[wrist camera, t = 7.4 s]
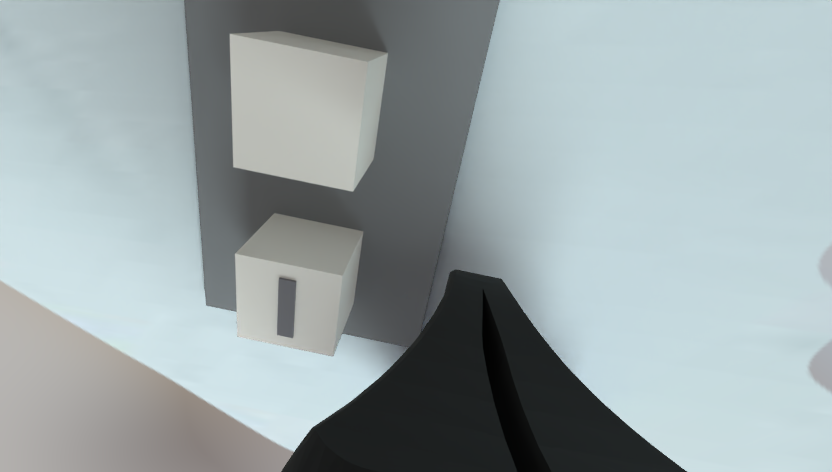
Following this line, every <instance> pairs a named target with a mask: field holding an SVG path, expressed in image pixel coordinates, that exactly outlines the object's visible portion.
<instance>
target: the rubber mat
mask: <svg viewBox="0 0 832 472" xmlns="http://www.w3.org/2000/svg"><path fill="white" fill-rule="evenodd" d="M184 2H185V16H186V30H187V44H188V58H189V72H190V86H191V100H192V114H193V128H194V142H195V156H196V170H197V184H198V198H199V212H200V226H201V240H202V254H203V269H204V283H205V297H206V305H207V306H212V307H216V308H221V309H226V310H231V311H236V312H237V305H236V270H235V253H236V252H237V251H238V250H239V249H240V248H241V247H242V246H243V245H244V244H245V243H246V242H247V241H248V240H249V239H250V238H251V237H252V236H253V235H254V234H255V233H256V232H257V231H258V230H259V228H260V227H261V226H262V225H263V224H264V223H265V222H266V221H267V220H268V219H269V218H270V217H271V216H272V215H273V214H274V213H277V214H281V215H286V216H291V217H296V218H301V219H306V220H311V221H316V222H320V223H325V224H330V225H335V226H340V227H345V228H350V229H355V230H359V231H363V237H362V245H361V252H360V260H359V267H358V275H357V282H356V289H355V297H354V304H353V306H352V309H351V311H350V314H349V317H348V319H347V322H346V325H345V327H344V330H343V332H342V334H347V335H352V336H357V337H362V338H367V339H371V340H376V341H381V342H386V343H391V344H396V345H401V346H405V347H410V346H411V345H412V344H413V342H414V341H415V340H416V339H417V337H418V336H419V335H420V332H421V328H422V324H423V320H424V316H425V311H426V307H427V303H428V299H429V295H430V290H431V286H432V282H433V278H434V274H435V269H436V265H437V261H438V257H439V253H440V248H441V244H442V240H443V236H444V232H445V227H446V223H447V219H448V215H449V210H450V206H451V202H452V198H453V194H454V189H455V185H456V181H457V177H458V173H459V168H460V164H461V160H462V156H463V152H464V147H465V143H466V139H467V135H468V131H469V126H470V122H471V118H472V114H473V110H474V105H475V101H476V97H477V93H478V89H479V84H480V80H481V76H482V72H483V68H484V63H485V59H486V55H487V51H488V47H489V42H490V38H491V34H492V30H493V26H494V21H495V17H496V13H497V9H498V5H499V0H184ZM268 31H282V32H287V33H292V34H297V35H302V36H307V37H312V38H317V39H322V40H327V41H332V42H337V43H342V44H346V45H351V46H356V47H361V48H366V49H371V50H376V51H381V52H386V53H388V57H387V65H386V72H385V80H384V87H383V94H382V102H381V109H380V116H379V124H378V131H377V139H376V146H375V153H374V159H373V161H372V163H371V164H370V166H369V167H368V169H367V170H366V172H365V174H364V175H363V177H362V178H361V180H360V181H359V183H358V185H357V186H356V188H355V189H354V191H353V192H352V191H347V190H342V189H337V188H332V187H328V186H323V185H318V184H313V183H308V182H303V181H298V180H293V179H289V178H284V177H279V176H274V175H269V174H264V173H259V172H254V171H249V170H245V169H240V168H235V167H233V138H232V102H231V66H230V34H234V33H251V32H268Z"/></svg>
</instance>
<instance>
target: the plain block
mask: <svg viewBox="0 0 832 472" xmlns="http://www.w3.org/2000/svg"><path fill="white" fill-rule="evenodd" d="M387 57H388V53H386V52H381V51H376V50H371V49H366V48H361V47H356V46H351V45H346V44H342V43H337V42H332V41H327V40H322V39H317V38H312V37H307V36H302V35H297V34H292V33H287V32H282V31H268V32H251V33H234V34H230V66H231V102H232V138H233V167H235V168H240V169H245V170H249V171H254V172H259V173H264V174H269V175H274V176H279V177H284V178H289V179H293V180H298V181H303V182H308V183H313V184H318V185H323V186H328V187H332V188H337V189H342V190H347V191H352V192H353V191H354V189H355V188H356V186H357V185H358V183H359V181H360V180H361V178H362V177H363V175H364V174H365V172H366V170H367V169H368V167H369V166H370V164H371V163H372V161H373V159H374V153H375V146H376V139H377V131H378V124H379V116H380V109H381V102H382V94H383V87H384V80H385V72H386V65H387Z"/></svg>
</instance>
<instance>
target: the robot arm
mask: <svg viewBox="0 0 832 472" xmlns="http://www.w3.org/2000/svg"><path fill="white" fill-rule="evenodd" d="M282 472H687V471H685V470H684V469H682V468H681V467H680V466H679V465H677V464H676V463H675V462H673V461H672V460H671V459H669V458H668V457H667V456H665V455H664V454H663V453H662V452H660V451H659V450H658V449H656V448H655V447H654V446H652V445H651V444H650V443H649V442H647V441H646V440H645V439H644V438H643V437H641V436H640V435H639V434H638V433H636V432H635V431H634V430H633V429H632V428H630V427H629V426H628V425H627V424H626V423H625V422H624V421H622V420H621V419H620V418H619V417H618V416H617V415H616V414H615V413H613V412H612V411H611V410H610V409H609V408H608V407H607V406H605V405H604V404H603V403H602V402H601V401H600V400H599V399H598V398H597V397H596V396H595V395H594V394H593V393H592V392H591V391H590V390H589V389H588V388H587V387H586V386H585V385H584V384H583V383H582V382H581V381H580V380H579V379H578V378H577V377H576V376H575V375H574V374H573V373H572V372H571V371H570V369H569V368H568V367H567V366H566V365H565V364H564V363H563V362H562V361H561V359H560V358H559V357H558V356H557V355H556V353H555V352H554V351H553V350H552V349H551V347H550V346H549V345H548V344H547V342H546V341H545V340H544V339H543V337H542V336H541V335H540V333H539V332H538V331H537V330H536V328H535V327H534V326H533V324H532V323H531V321H530V320H529V319H528V317H527V316H526V314H525V313H524V312H523V310H522V309H521V307H520V306H519V304H518V303H517V301H516V300H515V298H514V297H513V295H512V294H511V292H510V291H509V289H508V288H507V286H506V285H505V283H504V282H503V280H502V279H499V278H494V277H489V276H484V275H479V274H475V273H470V272H465V271H460V270H454V271H452V272H450V274H449V278H448V282H447V286H446V290H445V294H444V297H443V299H442V300H441V302H440V304H439V306H438V308H437V310H436V311H435V313H434V315H433V316H432V318H431V319H430V321H429V322H428V323H427V325H426V326H425V328H424V329H423V331H422V332H421V333H420V335H419V336H418V337H417V339H416V340H415V341H414V342H413V344H412V345H411V346H410V347H409V348H408V349H407V351H406V352H405V353H404V354H403V355H402V356H401V357H400V358H399V359H398V360H397V361H396V362H395V363H394V364H393V365H392V366H391V367H390V368H389V369H388V370H387V371H386V372H385V373H384V374H383V375H382V376H381V377H380V378H379V379H378V380H376V381H375V382H374V383H373V384H372V385H370V386H369V387H368V388H367V389H366V390H364V391H363V392H362V393H361V394H359V395H358V396H357V397H356V398H355V399H353V400H352V401H351V402H349V403H348V404H347V405H345V406H344V407H342V408H341V409H339V410H338V411H336V412H335V413H334V414H332V415H331V416H329V417H328V418H326V419H325V420H323V421H322V422H320V423H319V424H317V425H316V426H314V427H313V428H312V429H311V430H310V431H309V433H308V434H307V435H306V437H305V438H304V439H303V441H302V442H301V443H300V445H299V446H298V448H297V449H296V450H295V452H294V453H293V455H292V456H291V458H290V459H289V461H288V462H287V464H286V465H285V467H284V468H283V470H282Z"/></svg>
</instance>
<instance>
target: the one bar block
mask: <svg viewBox="0 0 832 472" xmlns="http://www.w3.org/2000/svg"><path fill="white" fill-rule="evenodd" d="M362 237H363V231H359V230H355V229H350V228H345V227H340V226H335V225H330V224H325V223H320V222H316V221H311V220H306V219H301V218H296V217H291V216H286V215H281V214H277V213H274V214H273V215H272V216H271V217H270V218H269V219H268V220H267V221H266V222H265V223H264V224H263V225H262V226H261V227H260V228H259V230H258V231H257V232H256V233H255V234H254V235H253V236H252V237H251V238H250V239H249V240H248V241H247V242H246V243H245V244H244V245H243V246H242V247H241V248H240V249H239V250H238V251H237V252H236V253H235V270H236V305H237V337H241V338H246V339H251V340H256V341H261V342H265V343H270V344H275V345H280V346H285V347H290V348H294V349H299V350H304V351H309V352H314V353H319V354H323V355H328V356H334V353H335V351H336V348H337V345H338V343H339V340H340V338H341V335H342V332H343V330H344V327H345V325H346V322H347V319H348V317H349V314H350V311H351V309H352V306H353V304H354V297H355V289H356V282H357V275H358V267H359V260H360V252H361V245H362Z"/></svg>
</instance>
